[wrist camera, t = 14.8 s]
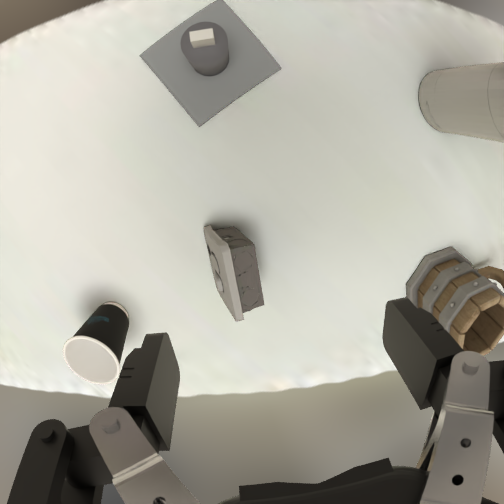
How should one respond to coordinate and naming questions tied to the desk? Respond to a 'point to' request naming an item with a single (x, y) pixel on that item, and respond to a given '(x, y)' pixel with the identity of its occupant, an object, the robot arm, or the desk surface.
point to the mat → (219, 86)
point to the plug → (206, 48)
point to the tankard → (460, 298)
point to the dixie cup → (98, 345)
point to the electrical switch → (234, 269)
